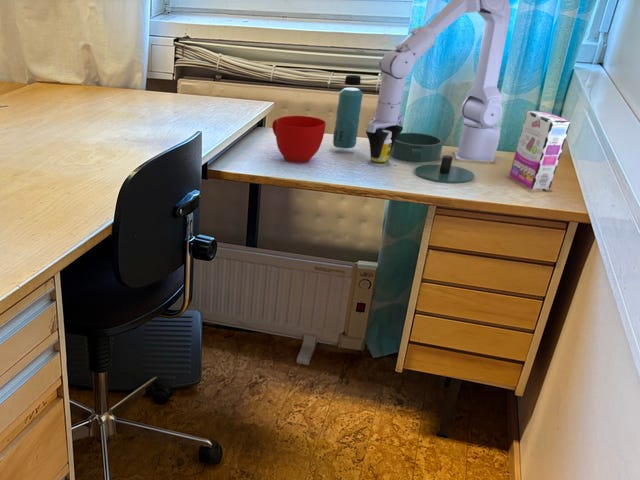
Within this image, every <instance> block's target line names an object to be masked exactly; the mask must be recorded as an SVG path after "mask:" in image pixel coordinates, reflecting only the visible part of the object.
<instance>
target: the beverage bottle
mask: <svg viewBox="0 0 640 480" xmlns="http://www.w3.org/2000/svg"><path fill="white" fill-rule="evenodd" d="M361 78H362V76H361V75H358V74H348V75H346V76H345V79H344V85H347V86H360V85H361V83H362V82H361ZM363 96H364V93H363V92H362V90H361V89H359V88H357V87H344V88H343V89H341V90H340V91H339V93H338V103H337V106H336V116H335V124H334V129H333V135H332V136H333V137H332V145H333V147H335V148H340V149H353V148H355V147H356V144H357V139H358V131H359V125H360V116H361V115H360V114H361V108H362V101H363Z"/></svg>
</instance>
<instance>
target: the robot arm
mask: <svg viewBox="0 0 640 480" xmlns="http://www.w3.org/2000/svg"><path fill="white" fill-rule="evenodd" d="M476 12H477V14H479V16H481V17H482V19H483V20H484V25H483V31H482V37H481V44H480V49H479V55H478V61H477V66H476V72H475V78H474V84H473V86H472V87H471V88H470V89H469V90H468V91H467V93H466V96H465V100H464V101H463V102H462V105H461V110H460V113H461V116H462V117H463V126H462V131H461V134H460V139H459V144H458V147H457V150H454V156H455V158H456V160H467V161H478V162H491V163H492V162H495V161H494V160H495V157H496V153H497V148H498V145H499V142H500V141H499V140H500V136H501V126H498V125H497V124H498V122H500V120H501V119H502V115H503V105H502V100H503V95H502V93H501V92H500V89H499V88H498V82H499V77H500V72H501V66H502V61H503V56H504V51H505V46H506V41H507V34H508V29H509V24H510V18H511V13H512V9H511V5H510V1H509V0H450V1H449V2H447V4H446V5H445V6H444V7H443V8H442V9H441V10H440V11H439V12H438V13H437V14H436V16H435V17H433V18H432V20H431V21H430V22H428V23H427V25H425V26H424V25H423V26H422V25H421V26H418V27H414V28H412V30H410V34H409V35H408V36H407V37H406V38H405V39H403V41H402V42H400V43H398V44H397V45H396V46H395V49H392V50H389V51H387V52H386V53H384V55H383V57H382V58H381V61H379V62H378V68H379V71H380V72H381V76H380V85H379V93H378V98H377V103H376V110H375V116H372V117H371V118H370V122H369V123H367V126H366V130H365V134H366V136H367V139H368V143H369V151H370V152H369V153H370V157H373V158H379V157H380V154H381V150H382V147H383V144H384V141H385V139H386V137H387V136H388V134H389V133H386V132H383V131H382V130H388V131H391V132H392V137H391V138H390V139H391V140H392V144H391V149H390V152H391V150H392V147H393V145H394V143H395V140H396V139H397V137H398V135H399V134H400V133H402V131H403V130H404V127H403V126H402V124H404V119H405V116H404V115H402V114H401V115H400V111H401V105H402V100H403V94H404V88H405V82H406V77H407V76H408V75H410V74H411V72H412V70H413V68H414V65H415V64H416V62H417V61H418V60H419V59H420V58H421V57H422V56H423V55H425V53H427V52H428V51H429V50H430V49H431V48H432V47H433V46H434V45H435V43H436V37H437V36H438V35H439V34H440V33H442V32H443V31H444V30H445V29H446V28H448V27H449V26H450V25H451V24H453V23H454V22H455V21H456V20H458V19H459V18H460V17H461V16H462V15H464V14H469V13H476Z"/></svg>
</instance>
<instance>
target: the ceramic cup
mask: <svg viewBox="0 0 640 480" xmlns="http://www.w3.org/2000/svg"><path fill="white" fill-rule="evenodd" d="M326 124H327V123H326V121H325V120H324V119H321V118H318V117H315V116H306V115H287V116H286V115H285V116H281V117H279V118H276V119H274V120H273V122H272V124H271V125H272V126H271V127H272V132H273V134H274V136H275V141H276V145H277V148H278V151H279V153H280V154H281V156H282V157H283V159H284V161H287V162H289V163H296V164H297V163H298V164H299V163H300V164H302V163H307V162H309V161H310V160H311V159H312V158H313V157H314V156H315V155H316V154H317V152H318V151H319V149H320V147H321V145H322V142H323V139H324V136H325V132H326V126H327V125H326Z"/></svg>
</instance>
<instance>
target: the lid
mask: <svg viewBox="0 0 640 480" xmlns="http://www.w3.org/2000/svg"><path fill="white" fill-rule="evenodd" d="M453 158H454V157H453V156H451V155H443V156H442V158H441V162H440V164H438V163H437V164H423V165H419V166H416V168H415V169H414V174H415V175H416V176H418V177H419V178H421V179H424V180H427V181H429V182H430V181H431V182H435V183H441V184H442V183H443V184H464V183H469V182H471V181H473V180H474V179H475V174H474V173H473V171H470V170H468V169H466V168H463V167H459V166H455V165H452V164H453Z"/></svg>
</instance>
